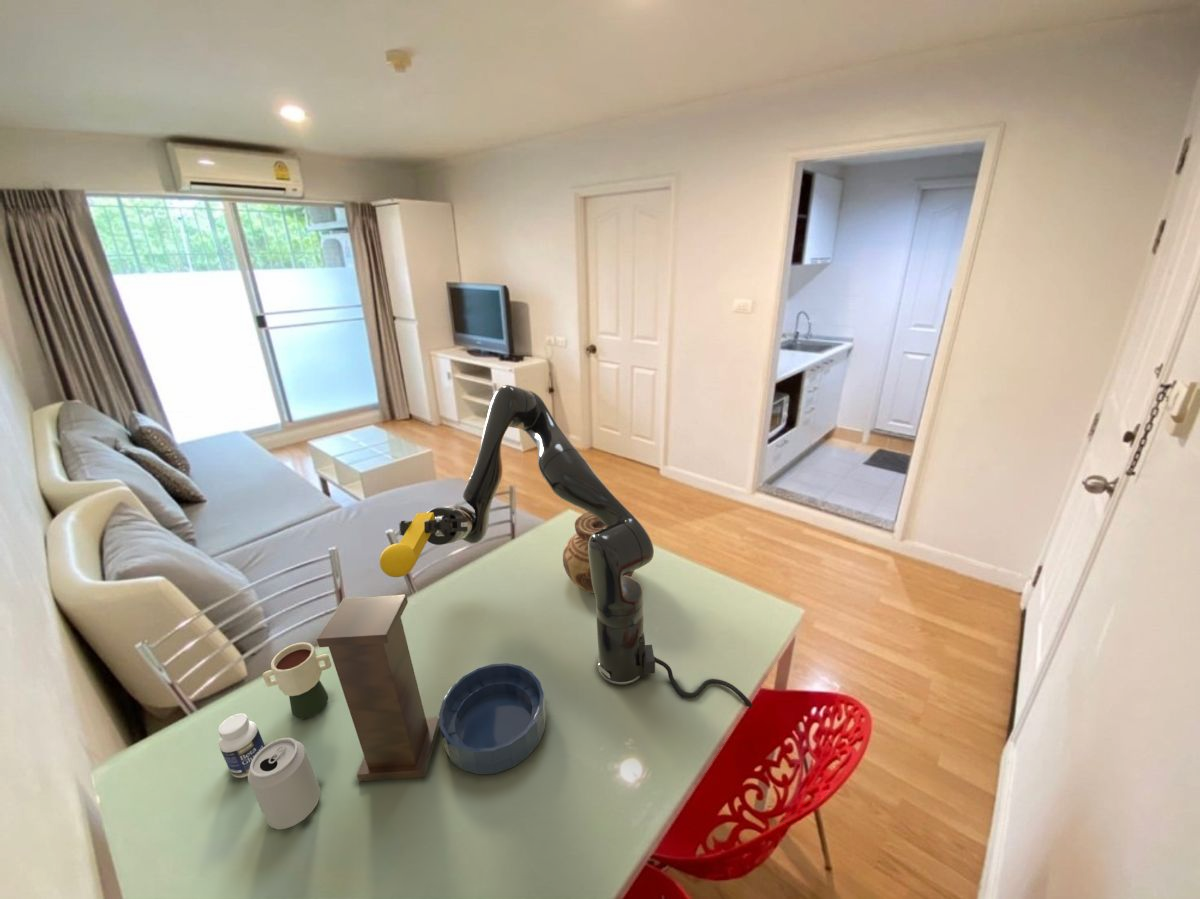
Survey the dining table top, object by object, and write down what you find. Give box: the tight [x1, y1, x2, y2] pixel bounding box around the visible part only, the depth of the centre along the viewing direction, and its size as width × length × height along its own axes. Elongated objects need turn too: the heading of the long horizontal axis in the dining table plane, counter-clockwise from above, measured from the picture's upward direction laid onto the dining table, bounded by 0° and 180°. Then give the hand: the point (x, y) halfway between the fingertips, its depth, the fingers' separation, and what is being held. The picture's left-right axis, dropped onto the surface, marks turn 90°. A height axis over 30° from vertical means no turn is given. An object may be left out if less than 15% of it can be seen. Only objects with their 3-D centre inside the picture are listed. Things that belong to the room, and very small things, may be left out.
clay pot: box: [562, 511, 635, 594], centre depth 125 cm, size 19×19×20 cm
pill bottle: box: [217, 713, 266, 779], centre depth 84 cm, size 5×5×10 cm
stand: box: [316, 594, 440, 782], centre depth 81 cm, size 11×10×30 cm
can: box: [247, 737, 322, 830], centre depth 76 cm, size 8×8×12 cm
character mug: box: [262, 641, 332, 720], centre depth 93 cm, size 11×7×13 cm, turn 113°
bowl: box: [438, 662, 547, 775], centre depth 89 cm, size 18×18×6 cm
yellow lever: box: [379, 511, 435, 578], centre depth 83 cm, size 5×18×5 cm, turn 2°
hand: (416, 527), depth 86 cm, fingers closed on yellow lever, 3 cm apart
